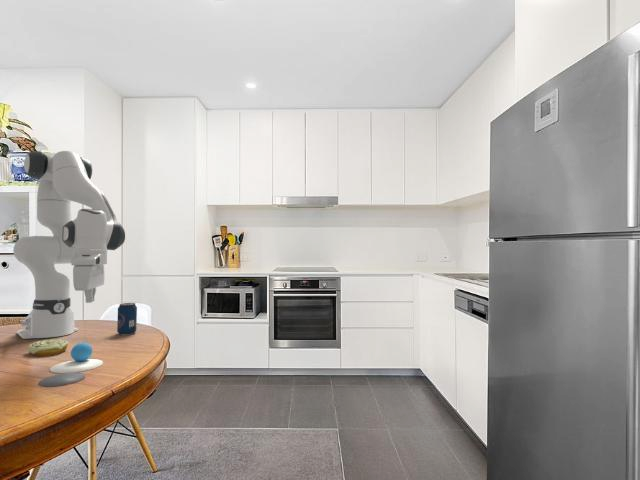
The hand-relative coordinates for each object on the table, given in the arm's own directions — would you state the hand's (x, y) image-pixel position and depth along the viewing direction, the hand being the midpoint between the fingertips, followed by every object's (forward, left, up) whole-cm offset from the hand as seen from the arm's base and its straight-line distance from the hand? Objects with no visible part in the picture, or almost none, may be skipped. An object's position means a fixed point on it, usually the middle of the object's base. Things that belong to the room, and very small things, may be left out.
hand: (90, 302), depth 120 cm
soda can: (-21, +25, -17) cm, 37 cm away
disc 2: (+8, -7, -17) cm, 20 cm away
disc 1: (+18, -15, -17) cm, 29 cm away
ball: (+4, -4, -14) cm, 15 cm away
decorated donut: (-15, -5, -18) cm, 24 cm away
